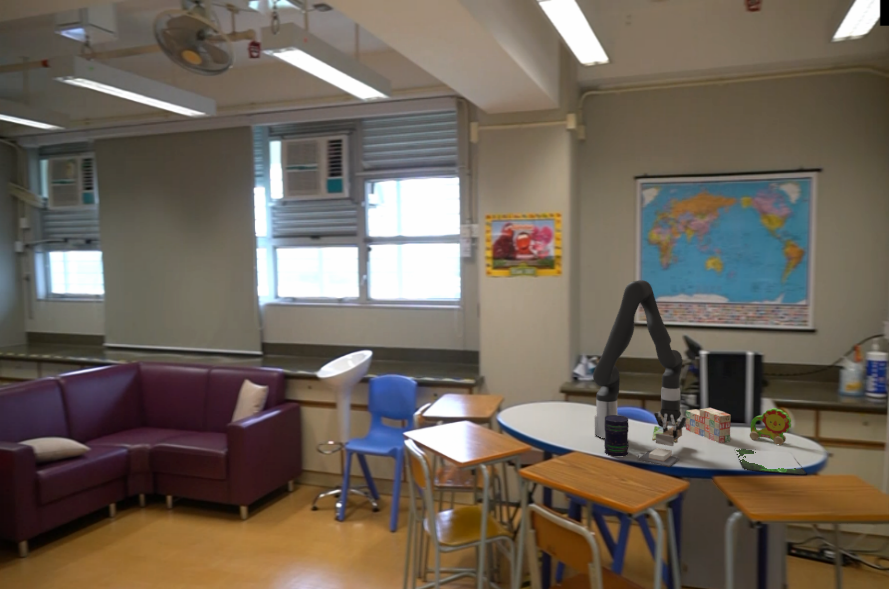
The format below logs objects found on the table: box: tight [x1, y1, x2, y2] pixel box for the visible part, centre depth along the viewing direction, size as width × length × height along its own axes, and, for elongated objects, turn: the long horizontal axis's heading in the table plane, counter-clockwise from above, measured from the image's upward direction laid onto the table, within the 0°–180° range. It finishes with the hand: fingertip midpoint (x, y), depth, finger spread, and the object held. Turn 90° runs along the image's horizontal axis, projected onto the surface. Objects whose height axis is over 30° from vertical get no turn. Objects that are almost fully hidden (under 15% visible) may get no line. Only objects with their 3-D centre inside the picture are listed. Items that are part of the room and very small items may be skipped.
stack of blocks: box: [685, 407, 732, 444], centre depth 277 cm, size 21×6×12 cm, turn 19°
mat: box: [637, 451, 680, 468], centre depth 248 cm, size 13×11×1 cm
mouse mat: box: [736, 448, 807, 476], centre depth 244 cm, size 27×22×1 cm
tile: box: [649, 447, 673, 461], centre depth 249 cm, size 6×2×9 cm
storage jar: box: [603, 414, 630, 457], centre depth 257 cm, size 10×10×15 cm
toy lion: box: [749, 407, 792, 446], centre depth 266 cm, size 16×5×15 cm, turn 44°
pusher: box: [655, 426, 683, 447], centre depth 258 cm, size 17×7×4 cm, turn 140°
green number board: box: [652, 425, 677, 443], centre depth 280 cm, size 20×1×10 cm
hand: (670, 437), depth 257 cm, fingers closed on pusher, 3 cm apart
